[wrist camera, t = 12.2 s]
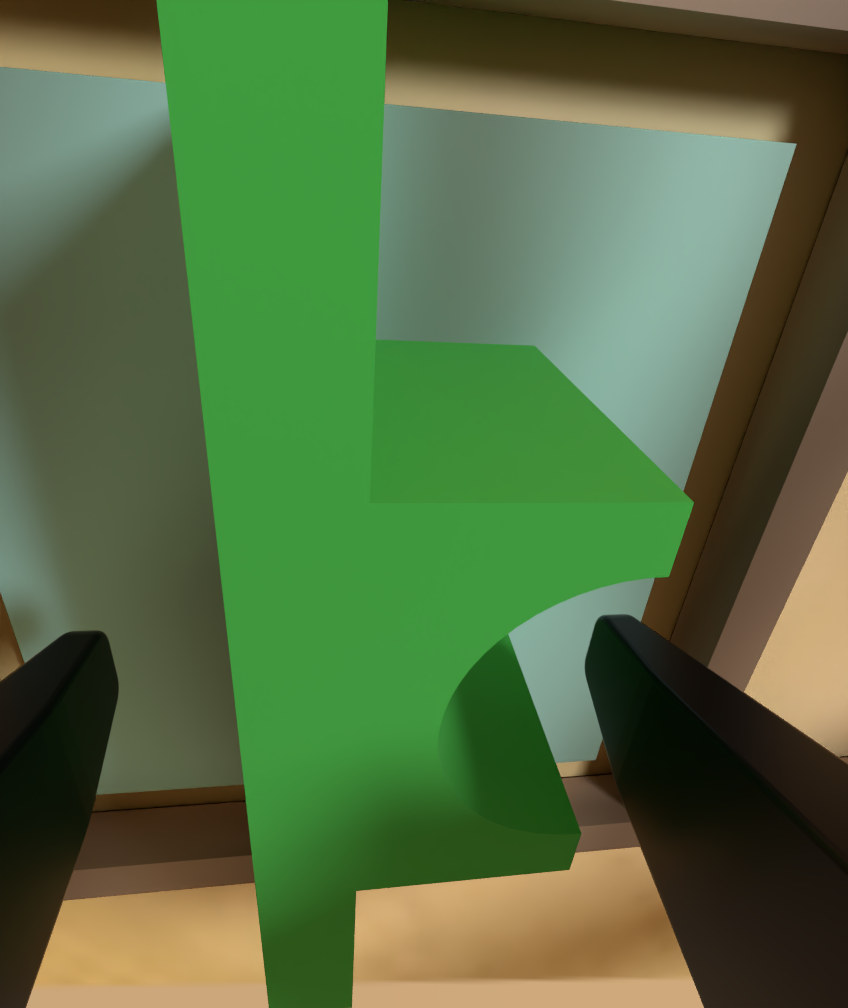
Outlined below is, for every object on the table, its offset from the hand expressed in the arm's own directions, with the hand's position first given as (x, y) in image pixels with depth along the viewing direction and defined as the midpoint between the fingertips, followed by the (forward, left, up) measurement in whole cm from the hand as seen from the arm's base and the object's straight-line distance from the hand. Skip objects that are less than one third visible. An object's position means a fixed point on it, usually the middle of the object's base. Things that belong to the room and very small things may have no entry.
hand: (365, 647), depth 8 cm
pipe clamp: (0, -1, -3) cm, 3 cm away
